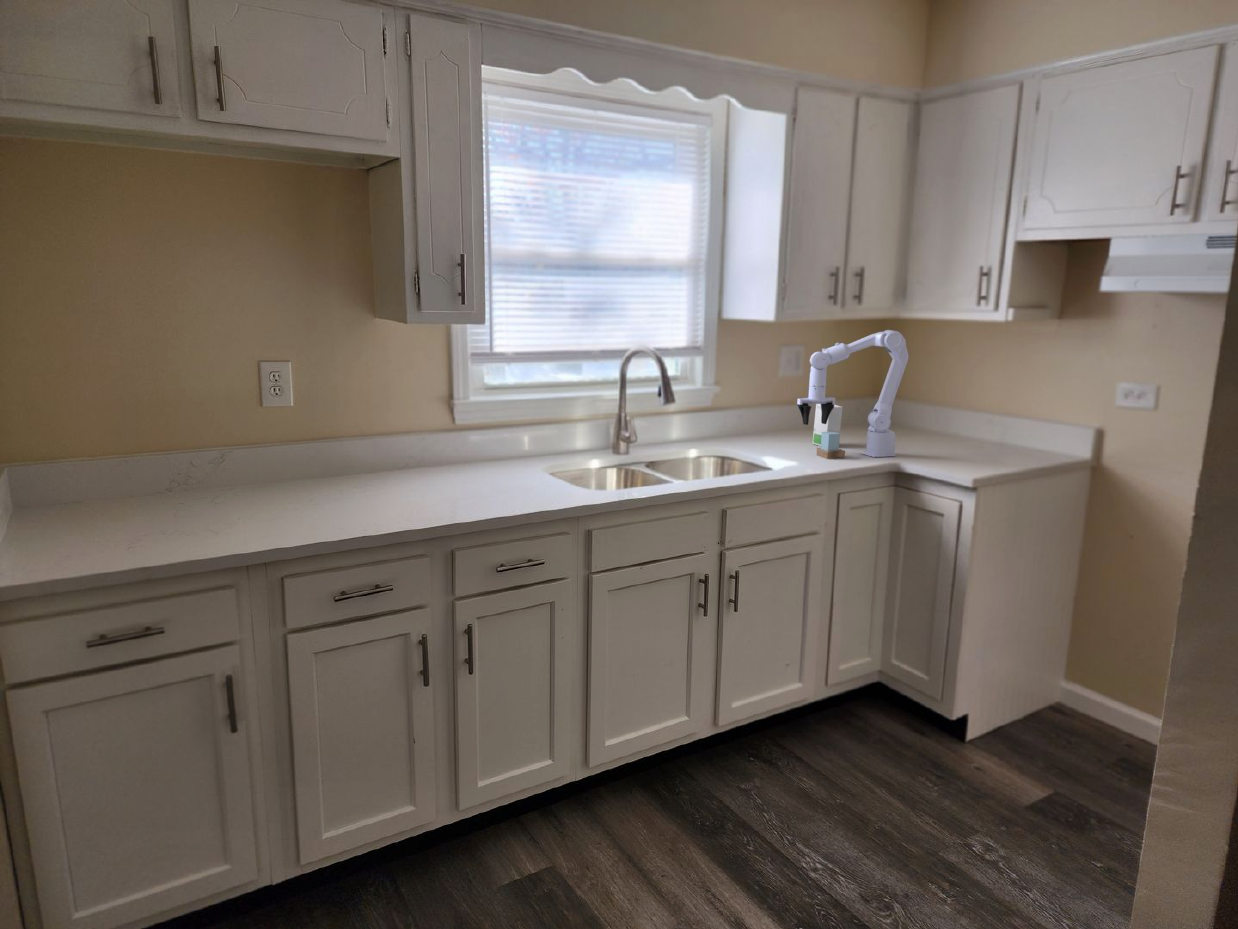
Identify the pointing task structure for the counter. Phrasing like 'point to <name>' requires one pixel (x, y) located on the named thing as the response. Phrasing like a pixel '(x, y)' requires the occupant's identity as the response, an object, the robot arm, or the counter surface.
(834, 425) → the skincare box
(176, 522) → the counter surface
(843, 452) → the walnut base
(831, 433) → the blue block
